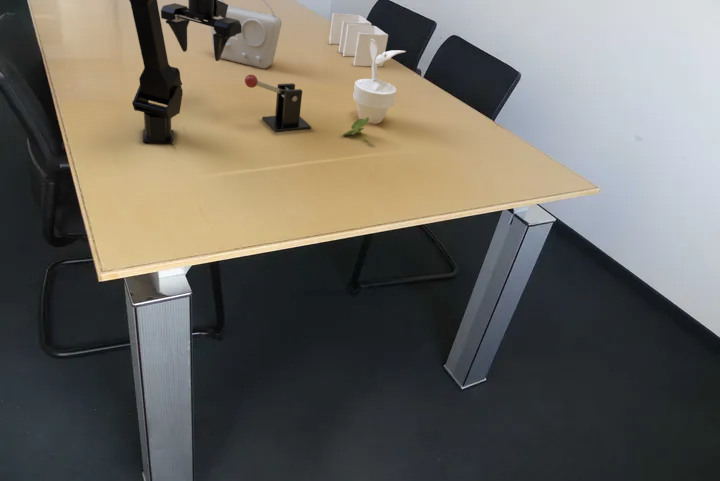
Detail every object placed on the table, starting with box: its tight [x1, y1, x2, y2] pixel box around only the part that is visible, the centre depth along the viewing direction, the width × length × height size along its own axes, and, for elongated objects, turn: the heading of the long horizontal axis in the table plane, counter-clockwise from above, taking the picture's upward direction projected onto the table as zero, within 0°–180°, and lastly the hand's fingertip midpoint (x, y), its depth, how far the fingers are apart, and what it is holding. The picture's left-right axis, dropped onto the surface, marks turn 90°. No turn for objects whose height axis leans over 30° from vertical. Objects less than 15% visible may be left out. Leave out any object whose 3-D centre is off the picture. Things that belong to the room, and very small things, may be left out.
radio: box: [209, 0, 282, 69], centre depth 174 cm, size 22×8×25 cm, turn 76°
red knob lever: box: [244, 74, 293, 98], centre depth 137 cm, size 14×3×3 cm, turn 122°
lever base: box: [261, 82, 312, 133], centre depth 142 cm, size 10×8×10 cm
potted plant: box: [352, 35, 407, 125], centre depth 151 cm, size 13×12×25 cm
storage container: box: [328, 12, 389, 67], centre depth 205 cm, size 25×11×11 cm, turn 24°
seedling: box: [342, 117, 370, 144], centre depth 144 cm, size 7×8×7 cm
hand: (201, 56), depth 138 cm, fingers open, 9 cm apart
